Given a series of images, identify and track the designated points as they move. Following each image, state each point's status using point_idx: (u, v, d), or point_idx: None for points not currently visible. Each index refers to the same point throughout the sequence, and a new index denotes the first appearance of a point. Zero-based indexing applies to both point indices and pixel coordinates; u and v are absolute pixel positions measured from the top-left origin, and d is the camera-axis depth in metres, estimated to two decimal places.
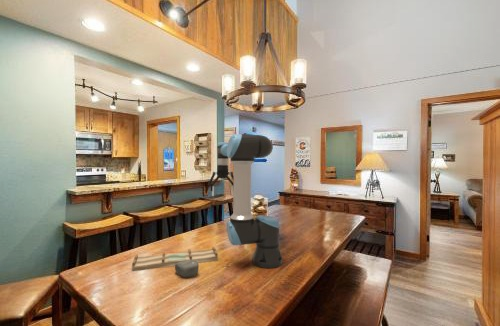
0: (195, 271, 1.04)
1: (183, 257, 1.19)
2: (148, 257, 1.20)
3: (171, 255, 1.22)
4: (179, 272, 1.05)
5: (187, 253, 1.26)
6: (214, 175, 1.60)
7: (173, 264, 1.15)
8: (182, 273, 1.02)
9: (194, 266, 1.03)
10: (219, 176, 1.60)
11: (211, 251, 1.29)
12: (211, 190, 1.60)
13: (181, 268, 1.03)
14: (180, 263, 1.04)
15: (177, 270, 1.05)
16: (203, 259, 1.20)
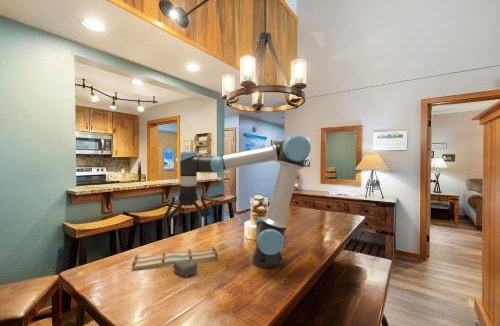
0: (194, 270, 1.05)
1: (183, 257, 1.19)
2: (148, 257, 1.20)
3: (171, 255, 1.22)
4: (178, 271, 1.05)
5: (187, 253, 1.26)
6: None
7: (173, 264, 1.15)
8: (181, 272, 1.03)
9: (193, 265, 1.04)
10: (182, 203, 1.05)
11: (211, 251, 1.29)
12: (169, 224, 1.04)
13: (180, 267, 1.03)
14: (179, 262, 1.05)
15: (176, 269, 1.06)
16: (203, 259, 1.20)
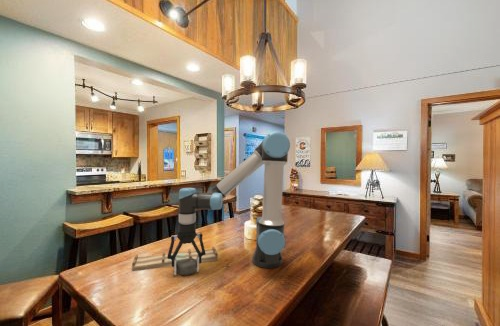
0: (193, 269, 1.06)
1: (183, 257, 1.19)
2: (148, 257, 1.20)
3: None
4: (177, 270, 1.06)
5: (187, 253, 1.26)
6: None
7: None
8: (181, 271, 1.04)
9: (192, 264, 1.05)
10: (181, 242, 1.04)
11: (211, 251, 1.29)
12: (172, 266, 1.04)
13: (179, 266, 1.04)
14: (179, 261, 1.06)
15: (176, 268, 1.07)
16: (203, 259, 1.20)
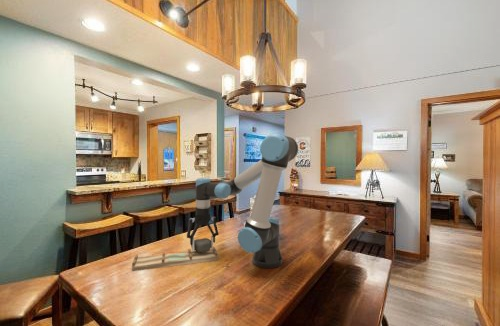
0: (208, 247, 1.24)
1: (183, 257, 1.19)
2: (148, 257, 1.20)
3: (171, 255, 1.22)
4: (195, 248, 1.25)
5: (187, 253, 1.26)
6: (192, 223, 1.22)
7: (173, 264, 1.15)
8: (198, 248, 1.23)
9: (208, 242, 1.24)
10: (198, 223, 1.23)
11: (211, 251, 1.29)
12: (191, 244, 1.22)
13: (197, 244, 1.23)
14: (196, 240, 1.25)
15: None
16: (203, 259, 1.20)
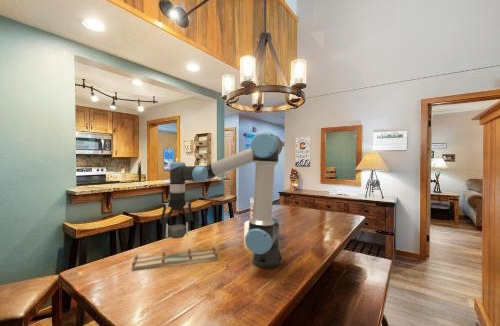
0: (183, 233, 1.20)
1: (183, 257, 1.19)
2: (148, 257, 1.20)
3: (171, 255, 1.22)
4: (169, 234, 1.21)
5: (187, 253, 1.26)
6: (165, 208, 1.18)
7: (173, 264, 1.15)
8: (171, 234, 1.19)
9: (182, 228, 1.20)
10: (172, 208, 1.18)
11: (211, 251, 1.29)
12: (164, 229, 1.18)
13: (170, 230, 1.19)
14: (170, 226, 1.21)
15: None
16: (203, 259, 1.20)
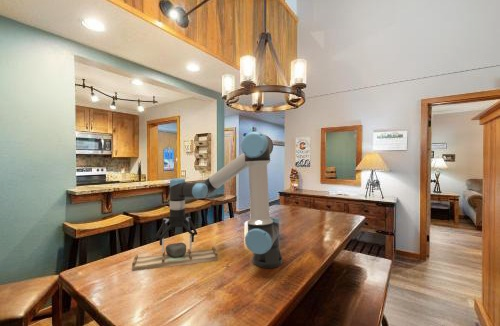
0: (183, 252, 1.20)
1: (183, 257, 1.19)
2: (148, 257, 1.20)
3: None
4: (169, 253, 1.21)
5: (187, 253, 1.26)
6: (164, 224, 1.18)
7: (173, 264, 1.15)
8: (171, 253, 1.19)
9: (182, 247, 1.20)
10: (171, 225, 1.18)
11: (211, 251, 1.29)
12: (160, 244, 1.18)
13: (170, 249, 1.19)
14: (170, 245, 1.21)
15: (168, 251, 1.22)
16: (203, 259, 1.20)
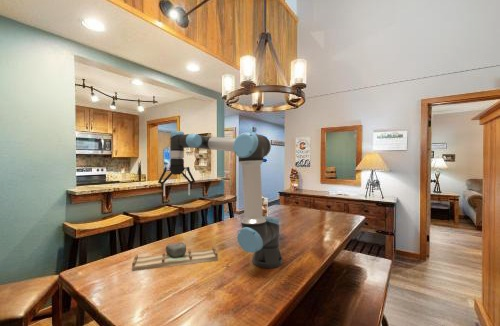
0: (183, 252, 1.20)
1: (183, 257, 1.19)
2: (148, 257, 1.20)
3: None
4: (169, 253, 1.21)
5: (187, 253, 1.26)
6: (165, 171, 1.32)
7: (173, 264, 1.15)
8: (171, 253, 1.19)
9: (182, 247, 1.20)
10: (172, 172, 1.33)
11: (211, 251, 1.29)
12: (162, 189, 1.32)
13: (170, 249, 1.19)
14: (170, 245, 1.21)
15: (168, 251, 1.22)
16: (203, 259, 1.20)
